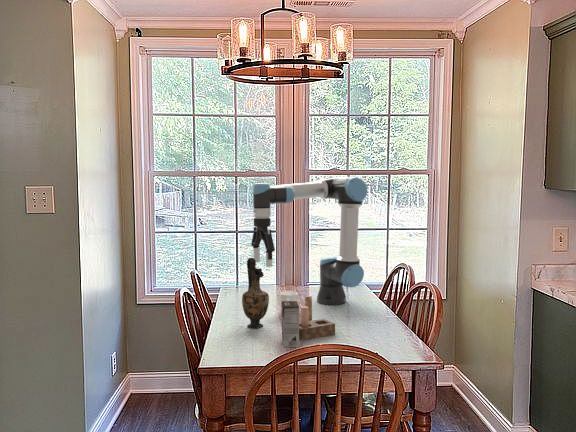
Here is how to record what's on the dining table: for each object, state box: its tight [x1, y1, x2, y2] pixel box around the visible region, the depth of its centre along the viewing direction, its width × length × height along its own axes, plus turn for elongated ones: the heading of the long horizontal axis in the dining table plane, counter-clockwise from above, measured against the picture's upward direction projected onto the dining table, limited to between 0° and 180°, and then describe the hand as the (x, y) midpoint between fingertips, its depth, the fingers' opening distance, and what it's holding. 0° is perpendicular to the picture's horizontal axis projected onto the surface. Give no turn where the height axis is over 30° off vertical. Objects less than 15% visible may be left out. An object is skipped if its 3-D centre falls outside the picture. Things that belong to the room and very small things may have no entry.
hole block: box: [299, 318, 336, 341], centre depth 229 cm, size 16×9×4 cm, turn 118°
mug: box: [279, 290, 299, 316], centre depth 258 cm, size 12×8×10 cm
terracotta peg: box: [300, 305, 309, 327], centre depth 227 cm, size 3×3×12 cm
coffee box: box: [280, 301, 300, 348], centre depth 217 cm, size 9×6×16 cm
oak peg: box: [304, 295, 313, 321], centre depth 246 cm, size 3×3×12 cm
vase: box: [241, 257, 270, 330], centre depth 241 cm, size 12×12×30 cm
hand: (262, 264), depth 248 cm, fingers open, 13 cm apart
